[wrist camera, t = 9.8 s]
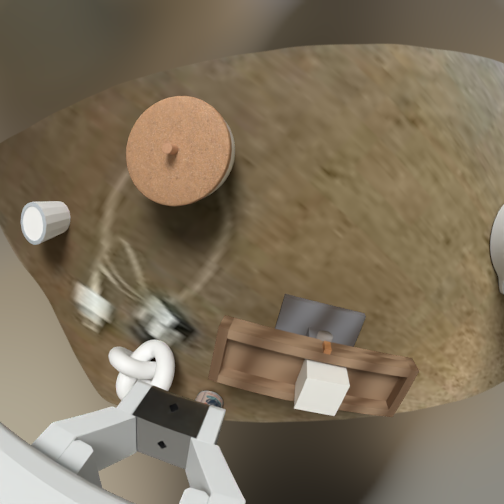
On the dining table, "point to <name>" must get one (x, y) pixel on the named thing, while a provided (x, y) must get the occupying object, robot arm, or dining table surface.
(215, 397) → the beer can
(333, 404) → the white block
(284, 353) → the brown wooden tray
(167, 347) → the white knot sculpture
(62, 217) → the shot glass
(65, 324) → the dining table surface
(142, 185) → the lidded bowl
